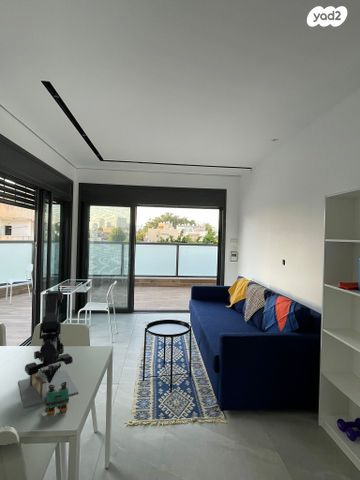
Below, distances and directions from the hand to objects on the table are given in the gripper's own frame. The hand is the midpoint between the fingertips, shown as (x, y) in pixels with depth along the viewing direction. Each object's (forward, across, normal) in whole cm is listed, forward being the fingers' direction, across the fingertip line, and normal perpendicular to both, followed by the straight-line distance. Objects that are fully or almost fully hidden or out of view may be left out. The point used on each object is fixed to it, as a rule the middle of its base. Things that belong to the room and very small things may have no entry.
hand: (49, 382), depth 128 cm
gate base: (+3, 0, -3) cm, 5 cm away
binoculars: (+4, +2, +15) cm, 15 cm away
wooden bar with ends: (+2, +4, -2) cm, 5 cm away
